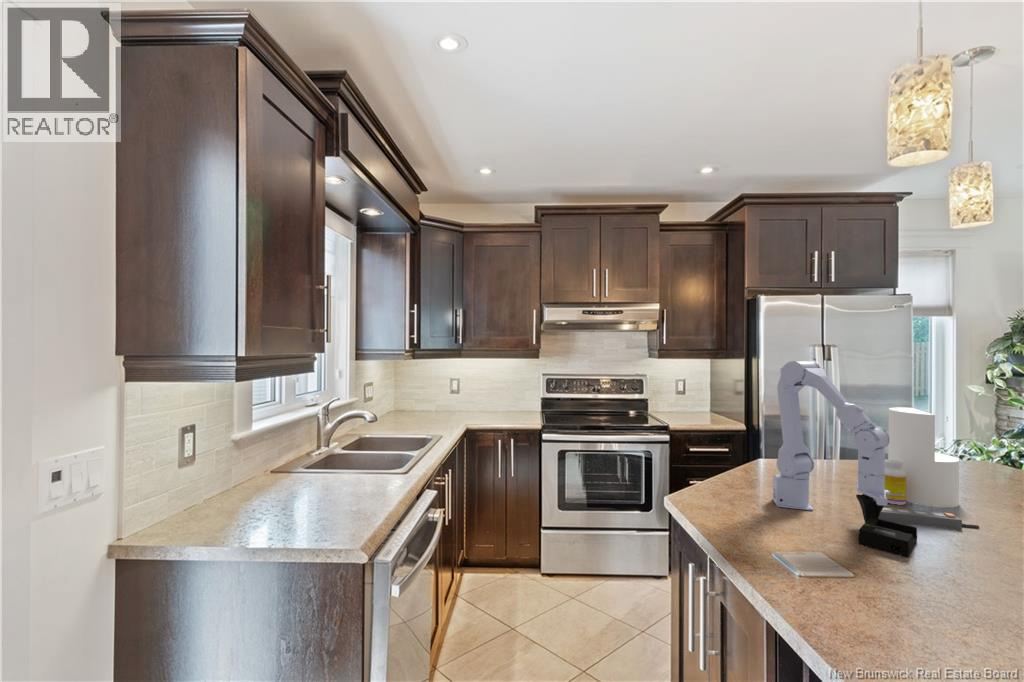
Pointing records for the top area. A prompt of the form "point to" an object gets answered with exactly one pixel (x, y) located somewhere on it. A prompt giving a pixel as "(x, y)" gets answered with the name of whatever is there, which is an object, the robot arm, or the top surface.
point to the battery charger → (888, 536)
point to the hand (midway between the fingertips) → (870, 524)
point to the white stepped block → (922, 459)
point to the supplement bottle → (895, 482)
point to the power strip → (922, 518)
